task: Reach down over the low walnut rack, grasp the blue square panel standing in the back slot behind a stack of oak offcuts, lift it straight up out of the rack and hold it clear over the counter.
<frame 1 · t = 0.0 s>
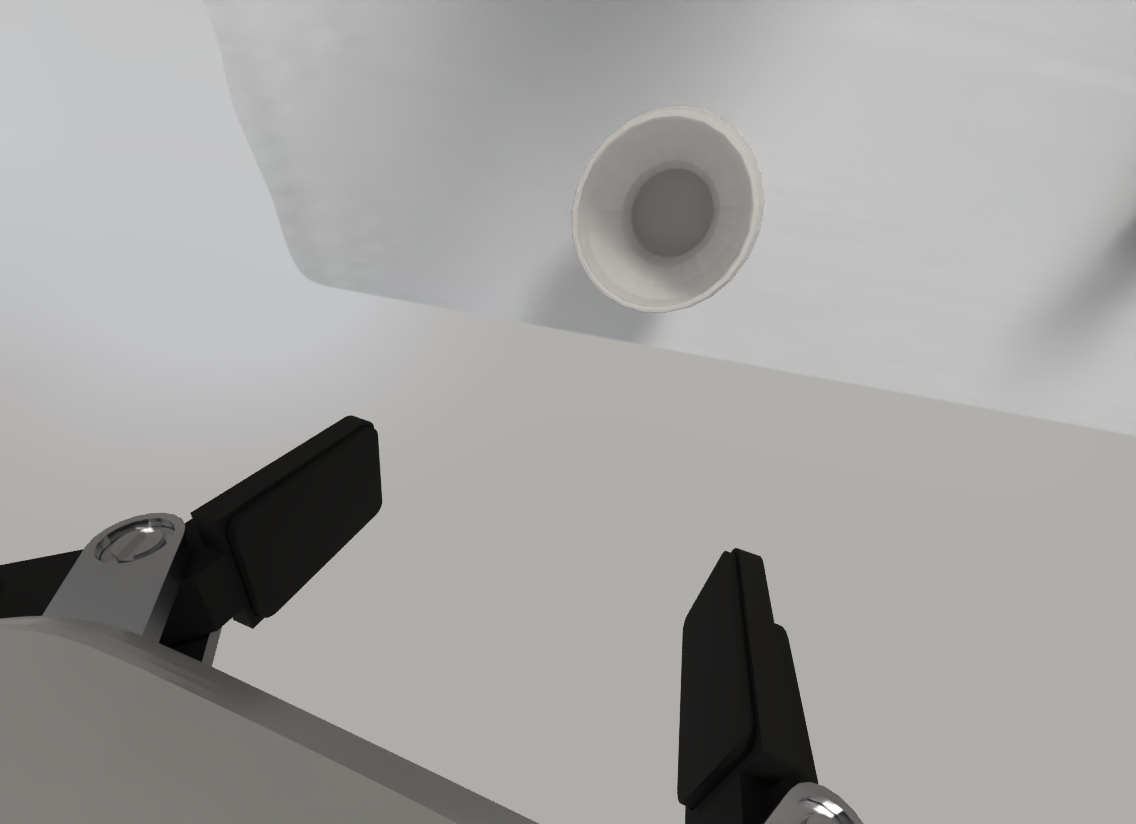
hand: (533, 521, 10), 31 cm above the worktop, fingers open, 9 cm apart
cup: (673, 213, 34), on the worktop
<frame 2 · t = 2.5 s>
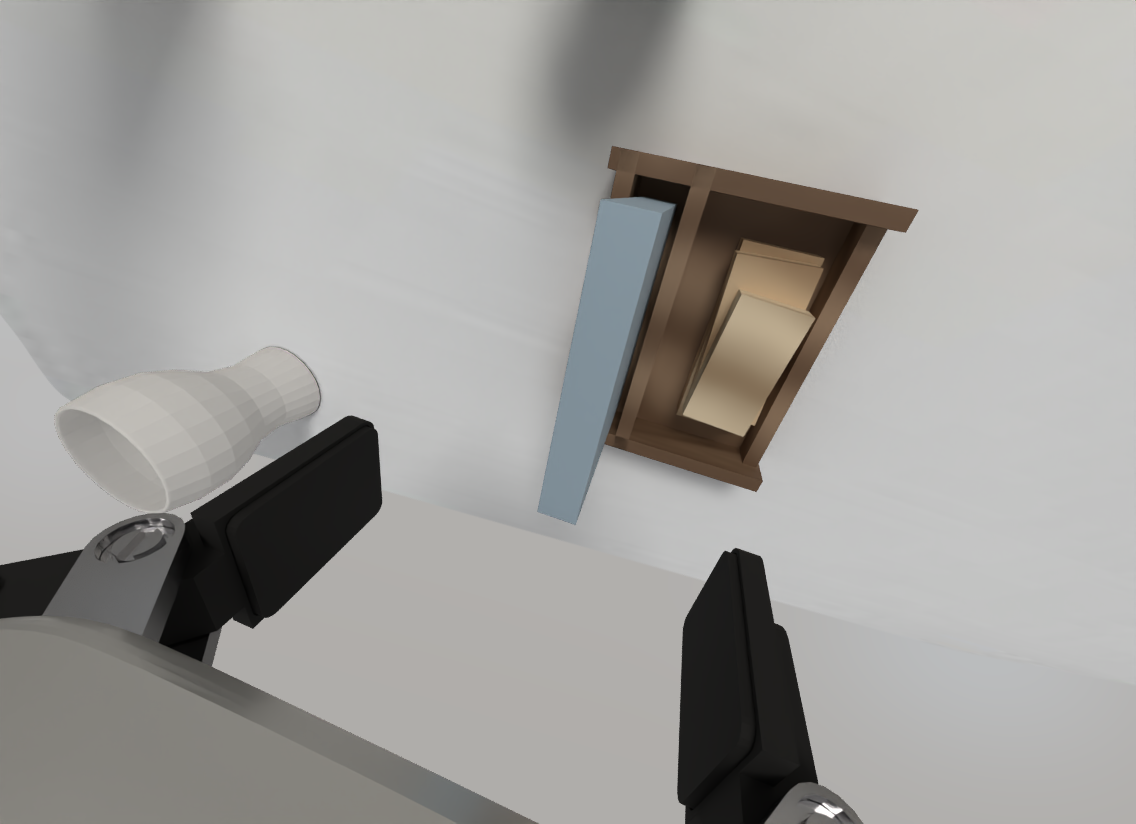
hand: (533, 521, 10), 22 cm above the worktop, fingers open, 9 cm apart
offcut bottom: (738, 339, 27), point 1 cm above the worktop, touching offcut middle, rack
rack: (694, 323, 28), on the worktop
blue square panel: (631, 311, 28), point 1 cm above the worktop, touching rack
offcut top: (740, 362, 25), point 4 cm above the worktop, touching offcut middle
cup: (290, 381, 42), on the worktop
offcut middle: (744, 339, 26), point 2 cm above the worktop, touching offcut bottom, offcut top
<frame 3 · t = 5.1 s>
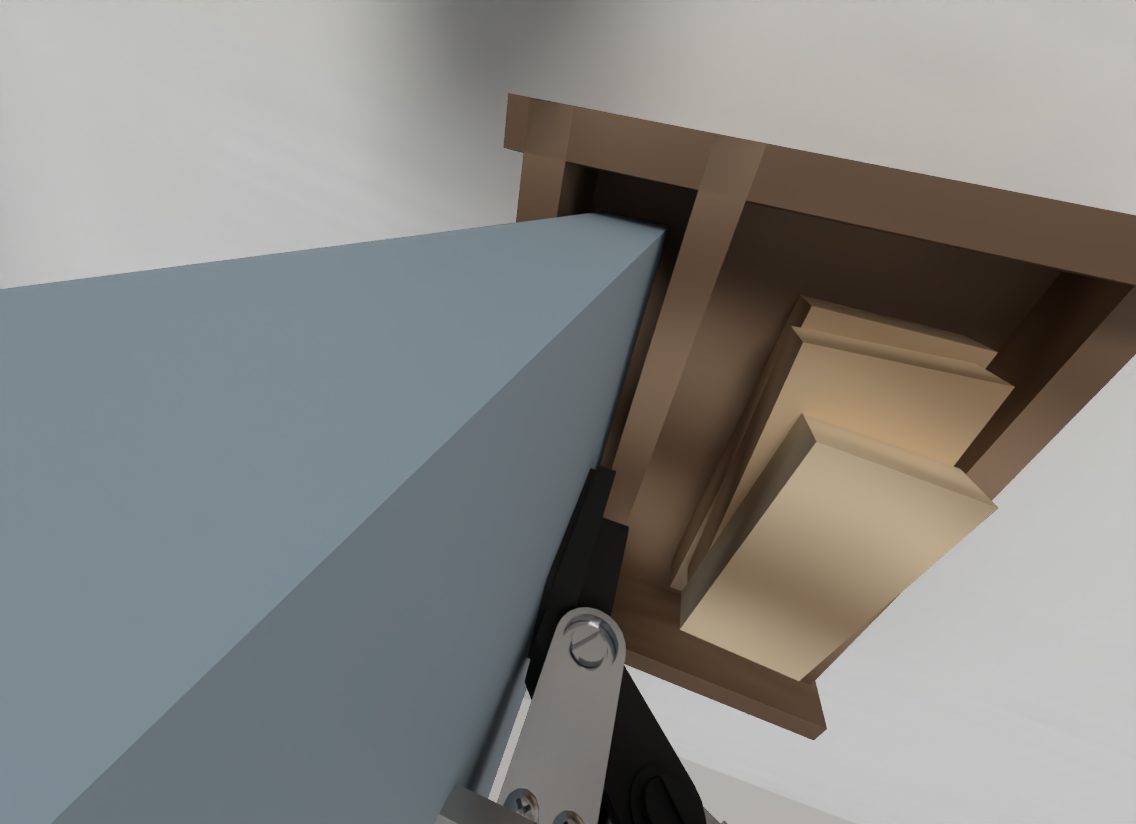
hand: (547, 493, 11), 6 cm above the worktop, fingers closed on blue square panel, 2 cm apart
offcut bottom: (784, 473, 15), point 1 cm above the worktop, touching offcut middle, rack
rack: (702, 434, 16), on the worktop
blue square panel: (588, 412, 16), point 1 cm above the worktop, touching gripper, rack
offcut top: (795, 541, 12), point 4 cm above the worktop, touching offcut middle
offcut middle: (800, 487, 13), point 2 cm above the worktop, touching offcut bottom, offcut top
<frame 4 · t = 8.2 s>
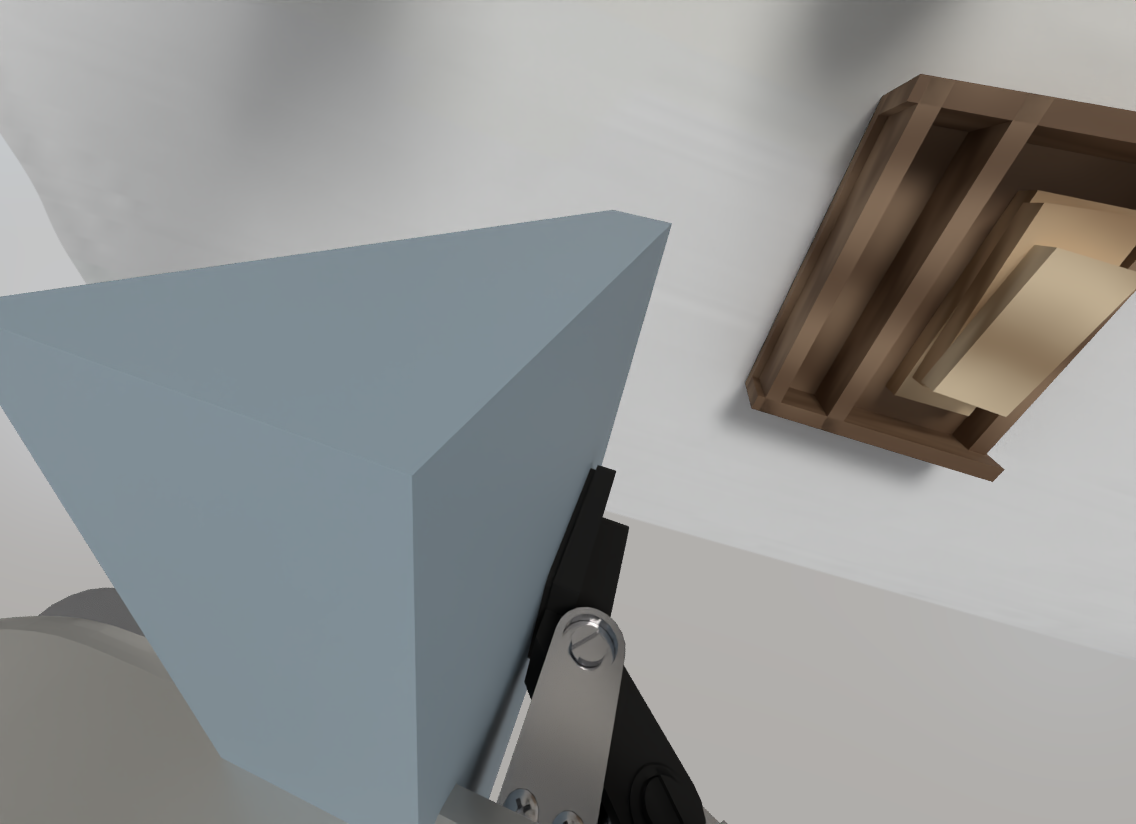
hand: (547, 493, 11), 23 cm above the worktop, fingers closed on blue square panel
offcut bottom: (983, 310, 24), point 1 cm above the worktop, touching offcut middle, rack
rack: (922, 293, 26), on the worktop
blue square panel: (595, 399, 17), point 17 cm above the worktop, touching gripper
offcut top: (1010, 331, 22), point 4 cm above the worktop, touching offcut middle
offcut middle: (1006, 307, 23), point 2 cm above the worktop, touching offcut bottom, offcut top
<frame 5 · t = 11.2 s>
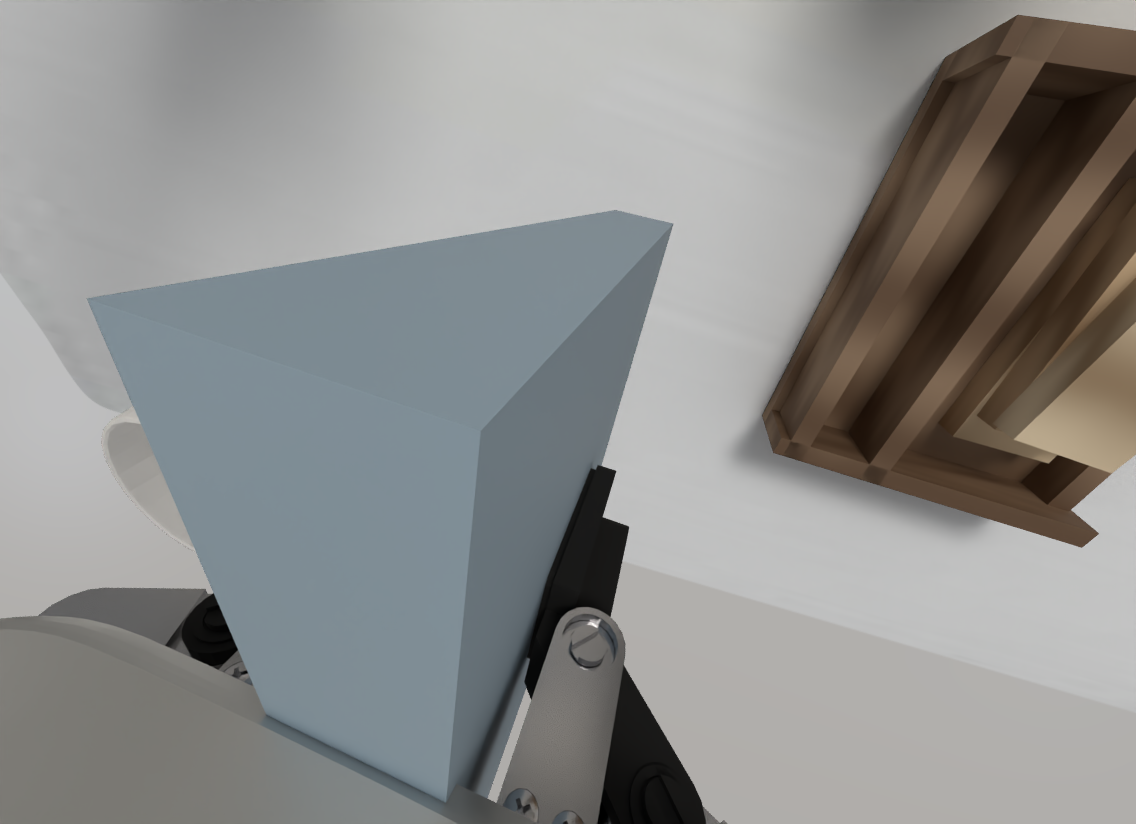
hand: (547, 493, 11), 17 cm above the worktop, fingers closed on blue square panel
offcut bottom: (1071, 332, 19), point 1 cm above the worktop, touching offcut middle, rack
rack: (989, 310, 20), on the worktop
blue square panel: (597, 395, 17), point 10 cm above the worktop, touching gripper
offcut top: (1118, 363, 17), point 4 cm above the worktop, touching offcut middle
cup: (373, 385, 34), on the worktop
offcut middle: (1108, 330, 18), point 2 cm above the worktop, touching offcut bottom, offcut top
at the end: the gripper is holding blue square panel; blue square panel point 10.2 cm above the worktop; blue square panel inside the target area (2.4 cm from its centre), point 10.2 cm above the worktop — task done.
